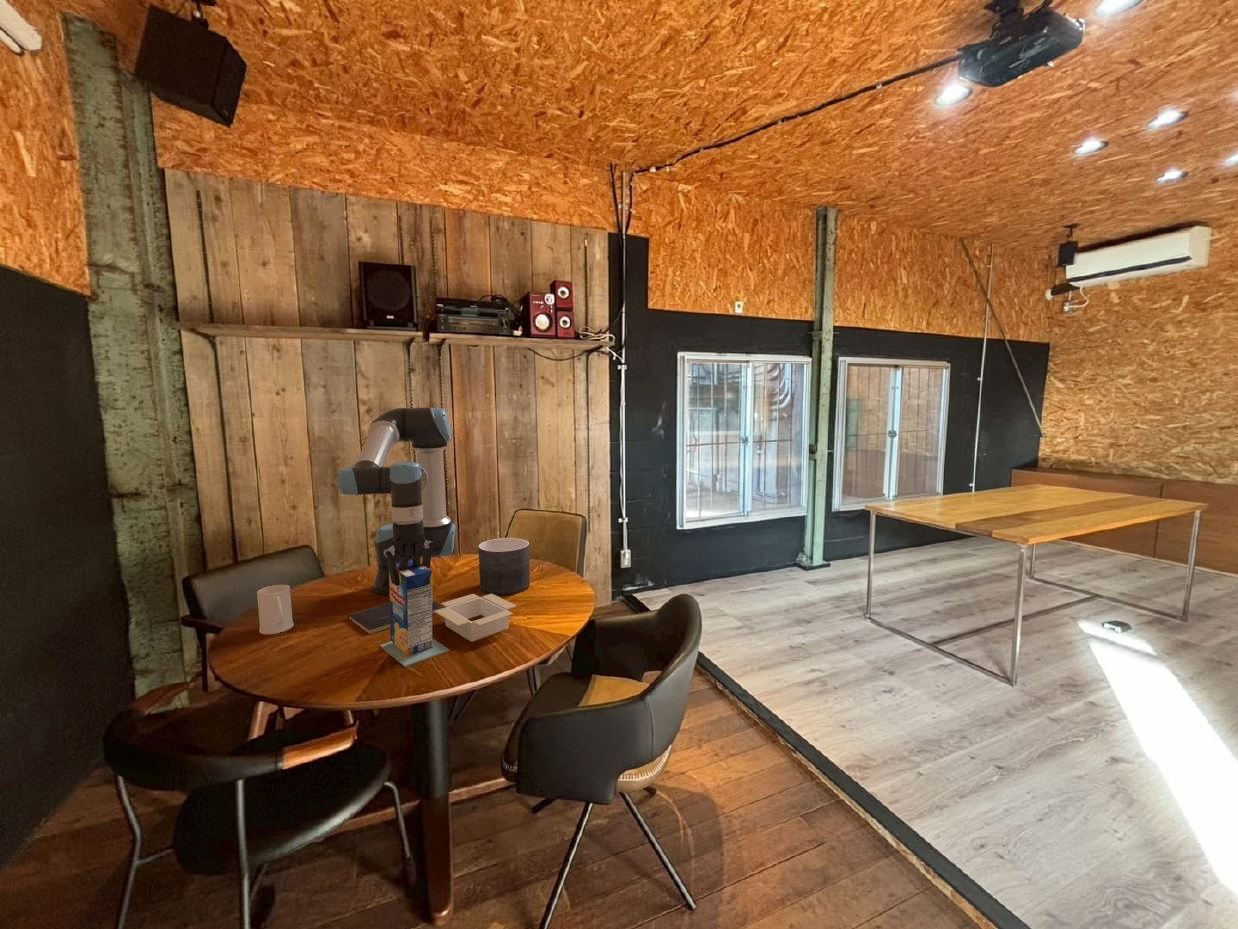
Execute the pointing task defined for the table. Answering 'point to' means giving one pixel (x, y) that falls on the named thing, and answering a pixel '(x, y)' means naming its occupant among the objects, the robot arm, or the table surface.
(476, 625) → the carton
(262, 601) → the mug
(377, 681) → the table surface
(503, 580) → the planter
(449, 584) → the table surface
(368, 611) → the hardcover book
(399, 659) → the mat
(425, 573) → the beverage box
